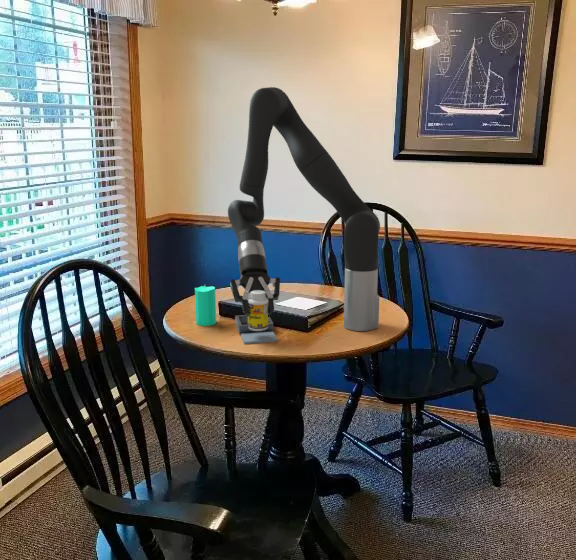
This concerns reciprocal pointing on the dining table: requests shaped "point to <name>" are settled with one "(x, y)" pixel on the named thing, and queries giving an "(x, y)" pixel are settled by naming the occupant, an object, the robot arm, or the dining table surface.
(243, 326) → the iron collar
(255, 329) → the supplement bottle
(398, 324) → the dining table surface
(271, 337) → the slate mat
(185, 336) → the dining table surface
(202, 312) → the candle
